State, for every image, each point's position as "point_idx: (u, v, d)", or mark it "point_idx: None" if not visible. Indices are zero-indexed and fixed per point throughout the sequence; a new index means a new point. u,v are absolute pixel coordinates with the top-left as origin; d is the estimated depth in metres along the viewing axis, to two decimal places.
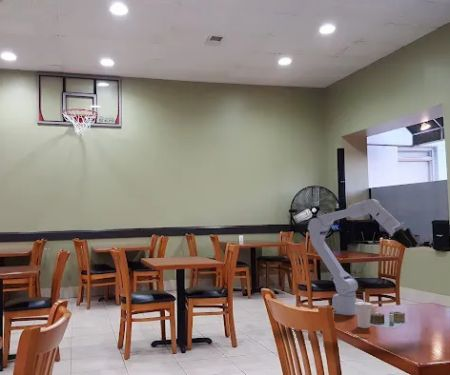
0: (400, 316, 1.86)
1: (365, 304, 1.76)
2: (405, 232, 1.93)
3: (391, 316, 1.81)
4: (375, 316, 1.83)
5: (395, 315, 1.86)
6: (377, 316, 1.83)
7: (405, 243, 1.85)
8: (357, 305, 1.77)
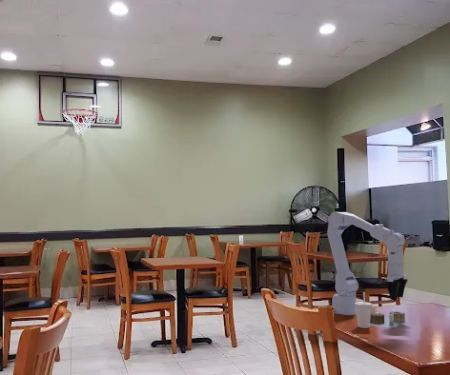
0: (400, 316, 1.86)
1: (365, 304, 1.76)
2: (401, 281, 1.91)
3: (391, 316, 1.81)
4: (375, 316, 1.83)
5: (395, 315, 1.86)
6: (377, 316, 1.83)
7: (392, 294, 1.86)
8: (357, 305, 1.77)
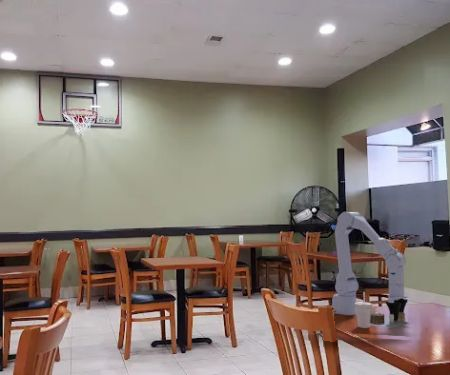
0: (400, 316, 1.86)
1: (365, 304, 1.76)
2: (401, 301, 1.90)
3: (391, 316, 1.81)
4: (375, 316, 1.83)
5: None
6: (377, 316, 1.83)
7: None
8: (357, 305, 1.77)
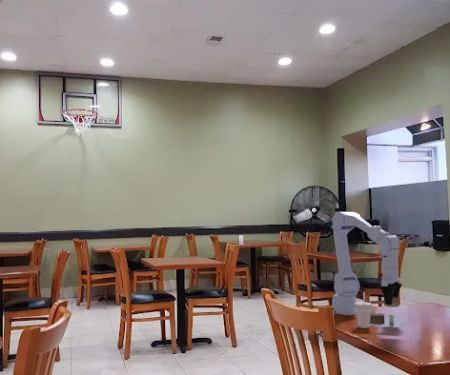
0: (394, 301, 1.80)
1: (365, 304, 1.76)
2: (395, 285, 1.85)
3: (391, 316, 1.81)
4: (375, 316, 1.83)
5: None
6: (377, 316, 1.83)
7: (387, 299, 1.80)
8: (357, 305, 1.77)
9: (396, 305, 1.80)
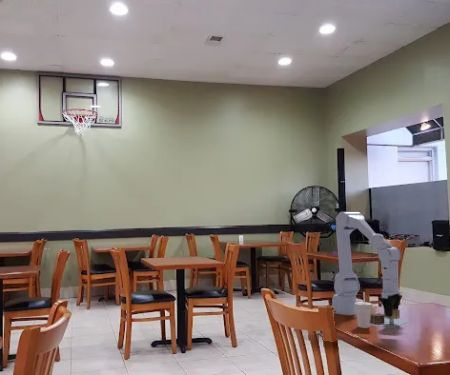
0: (395, 313, 1.80)
1: (365, 304, 1.76)
2: (395, 297, 1.84)
3: None
4: (375, 316, 1.83)
5: None
6: (377, 316, 1.83)
7: (387, 311, 1.80)
8: (357, 305, 1.77)
9: (396, 317, 1.80)
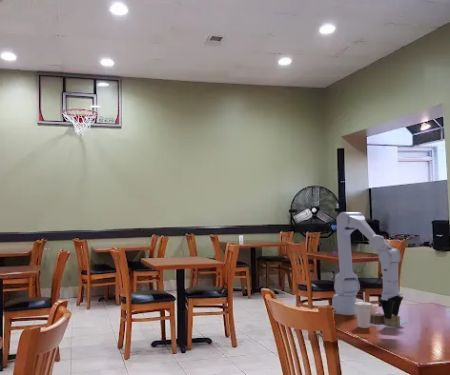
0: (395, 319, 1.80)
1: (365, 304, 1.76)
2: (396, 298, 1.85)
3: None
4: (375, 316, 1.83)
5: None
6: (377, 316, 1.83)
7: (386, 313, 1.79)
8: (357, 305, 1.77)
9: (396, 323, 1.80)
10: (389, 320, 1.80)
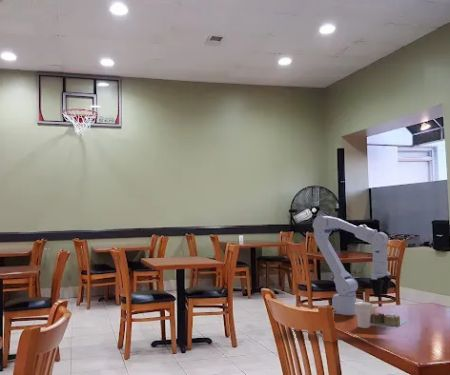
0: (395, 319, 1.80)
1: (365, 304, 1.76)
2: (385, 278, 1.97)
3: (391, 316, 1.81)
4: (375, 316, 1.83)
5: (390, 318, 1.80)
6: (377, 316, 1.83)
7: (376, 292, 1.91)
8: (357, 305, 1.77)
9: (396, 323, 1.80)
10: (389, 320, 1.80)
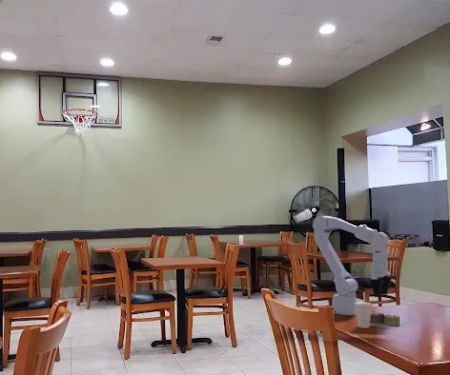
0: (395, 319, 1.80)
1: (365, 304, 1.76)
2: (385, 278, 1.97)
3: (391, 316, 1.81)
4: (375, 316, 1.83)
5: (390, 318, 1.80)
6: (377, 316, 1.83)
7: (376, 292, 1.91)
8: (357, 305, 1.77)
9: (396, 323, 1.80)
10: (389, 320, 1.80)
